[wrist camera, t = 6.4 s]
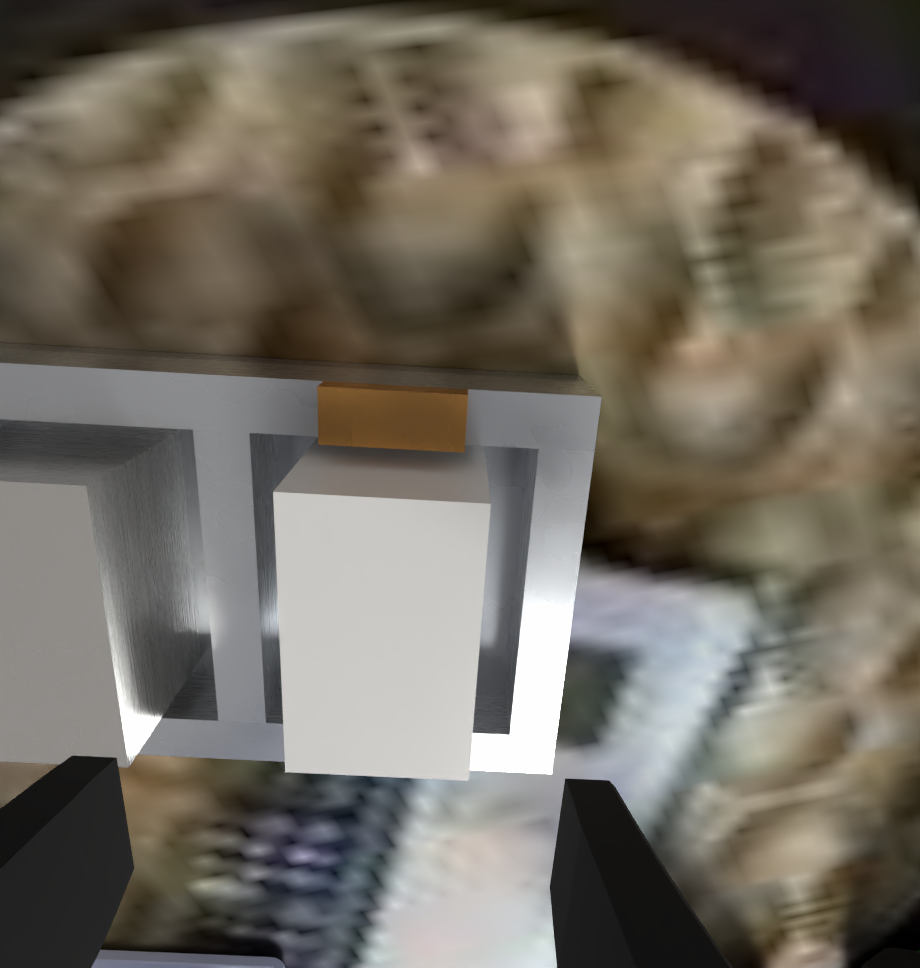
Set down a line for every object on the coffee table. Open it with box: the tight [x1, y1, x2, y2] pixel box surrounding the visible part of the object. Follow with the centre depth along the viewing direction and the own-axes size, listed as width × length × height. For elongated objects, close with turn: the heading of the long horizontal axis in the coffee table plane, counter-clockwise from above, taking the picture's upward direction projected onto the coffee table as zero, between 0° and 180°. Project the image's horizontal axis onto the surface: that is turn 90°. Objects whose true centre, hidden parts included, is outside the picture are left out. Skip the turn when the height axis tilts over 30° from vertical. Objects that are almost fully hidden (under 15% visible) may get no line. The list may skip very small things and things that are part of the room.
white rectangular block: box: [273, 438, 491, 781], centre depth 14 cm, size 6×4×4 cm, turn 177°
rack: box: [0, 343, 602, 774], centre depth 15 cm, size 10×16×5 cm, turn 87°
